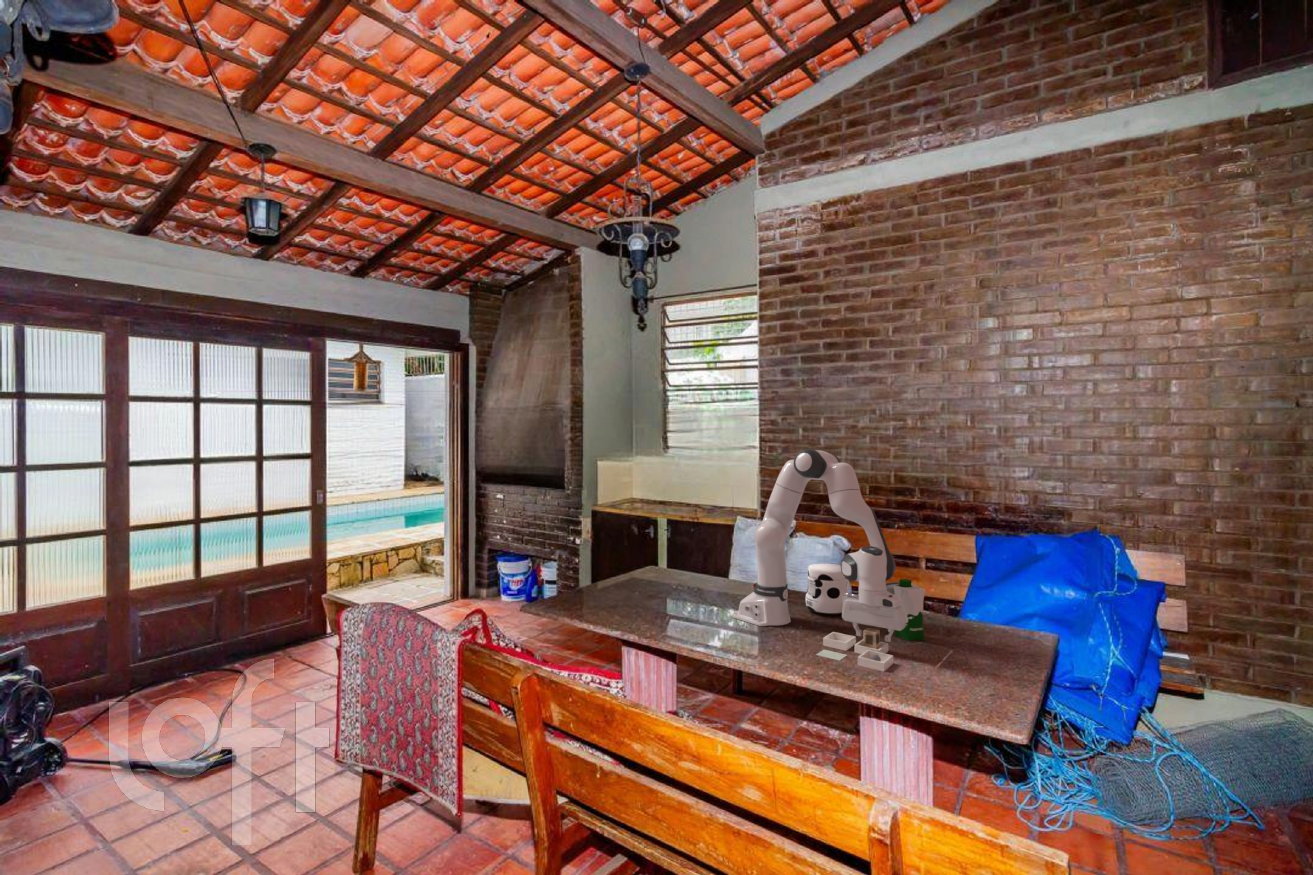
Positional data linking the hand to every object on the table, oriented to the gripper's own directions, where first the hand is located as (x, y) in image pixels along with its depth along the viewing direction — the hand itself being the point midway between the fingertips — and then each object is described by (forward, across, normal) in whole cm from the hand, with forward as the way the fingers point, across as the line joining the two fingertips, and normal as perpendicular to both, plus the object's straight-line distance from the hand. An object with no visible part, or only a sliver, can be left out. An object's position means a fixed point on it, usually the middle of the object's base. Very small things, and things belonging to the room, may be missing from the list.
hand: (873, 638), depth 205 cm
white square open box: (+5, +4, -11) cm, 12 cm away
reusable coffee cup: (+5, -2, +34) cm, 35 cm away
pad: (+5, -10, -11) cm, 16 cm away
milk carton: (+5, +5, +22) cm, 23 cm away
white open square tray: (+5, -12, 0) cm, 12 cm away
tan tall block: (+4, 0, -1) cm, 4 cm away
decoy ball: (+3, +4, -11) cm, 12 cm away
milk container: (+5, -31, +35) cm, 47 cm away
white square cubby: (+5, 0, -1) cm, 5 cm away
